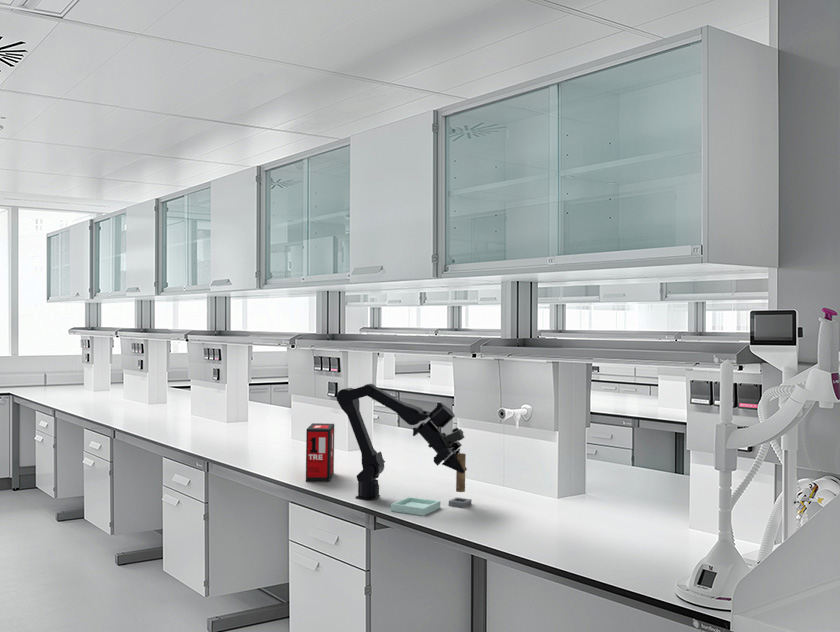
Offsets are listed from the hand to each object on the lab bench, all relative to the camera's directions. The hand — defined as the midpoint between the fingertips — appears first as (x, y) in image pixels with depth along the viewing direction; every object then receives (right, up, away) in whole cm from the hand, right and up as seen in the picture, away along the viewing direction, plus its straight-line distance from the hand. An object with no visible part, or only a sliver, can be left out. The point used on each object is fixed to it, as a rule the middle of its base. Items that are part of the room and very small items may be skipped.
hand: (464, 471), depth 259 cm
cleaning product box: (-54, -11, +42) cm, 70 cm away
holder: (-2, -11, 0) cm, 11 cm away
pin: (-1, -7, 0) cm, 7 cm away
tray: (-16, -11, -7) cm, 21 cm away
